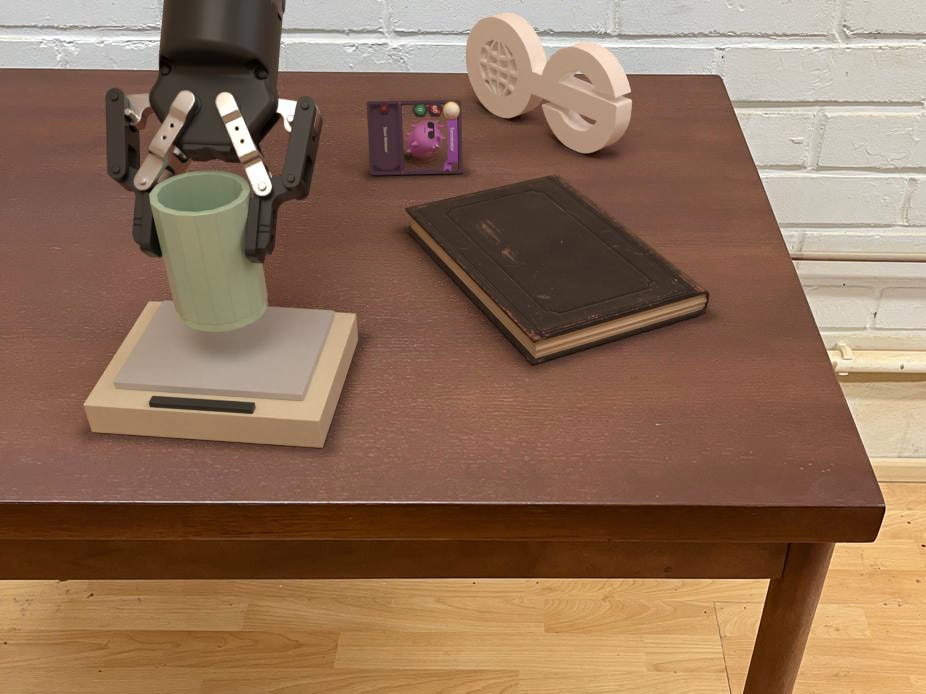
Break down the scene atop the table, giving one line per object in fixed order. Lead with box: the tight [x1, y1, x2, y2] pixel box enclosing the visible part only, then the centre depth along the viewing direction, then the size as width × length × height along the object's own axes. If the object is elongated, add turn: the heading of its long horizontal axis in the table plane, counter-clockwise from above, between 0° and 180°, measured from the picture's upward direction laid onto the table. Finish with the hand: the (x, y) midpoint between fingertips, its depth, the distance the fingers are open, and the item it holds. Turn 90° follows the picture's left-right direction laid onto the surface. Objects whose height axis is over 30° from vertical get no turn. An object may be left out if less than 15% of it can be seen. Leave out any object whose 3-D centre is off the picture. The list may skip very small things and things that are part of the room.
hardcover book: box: [404, 173, 710, 366], centre depth 84 cm, size 16×23×2 cm
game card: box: [366, 99, 464, 176], centre depth 99 cm, size 7×5×9 cm
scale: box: [83, 300, 359, 449], centre depth 72 cm, size 16×13×3 cm
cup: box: [149, 169, 269, 332], centre depth 66 cm, size 6×6×8 cm
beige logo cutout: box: [465, 12, 633, 154], centre depth 103 cm, size 22×2×10 cm, turn 42°
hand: (202, 256), depth 65 cm, fingers closed on cup, 6 cm apart
